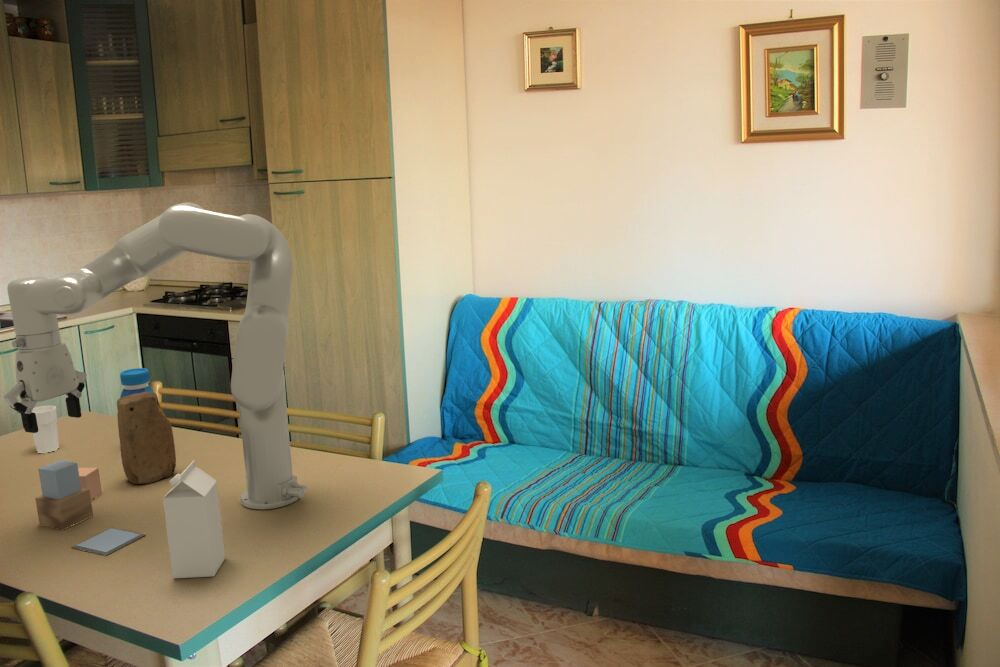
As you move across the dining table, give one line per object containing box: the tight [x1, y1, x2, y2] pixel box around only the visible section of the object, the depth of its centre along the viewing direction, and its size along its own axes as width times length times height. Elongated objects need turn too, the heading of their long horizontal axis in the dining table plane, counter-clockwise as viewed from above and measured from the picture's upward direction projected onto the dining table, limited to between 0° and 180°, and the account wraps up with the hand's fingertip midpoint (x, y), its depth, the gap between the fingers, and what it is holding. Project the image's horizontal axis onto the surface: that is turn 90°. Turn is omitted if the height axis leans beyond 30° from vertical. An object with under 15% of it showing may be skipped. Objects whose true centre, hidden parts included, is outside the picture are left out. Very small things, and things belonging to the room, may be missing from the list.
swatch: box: [71, 527, 146, 556], centre depth 160 cm, size 9×9×1 cm
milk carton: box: [162, 459, 226, 579], centre depth 146 cm, size 7×7×19 cm
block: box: [116, 391, 177, 485], centre depth 191 cm, size 11×8×20 cm
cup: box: [32, 405, 60, 454], centre depth 214 cm, size 7×7×11 cm
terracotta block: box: [78, 467, 103, 501], centre depth 182 cm, size 5×5×6 cm
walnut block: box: [34, 488, 94, 530], centre depth 171 cm, size 7×7×6 cm
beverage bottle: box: [119, 367, 155, 398], centre depth 214 cm, size 8×8×20 cm
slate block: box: [37, 459, 81, 500], centre depth 169 cm, size 5×5×6 cm
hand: (54, 424), depth 167 cm, fingers open, 9 cm apart
